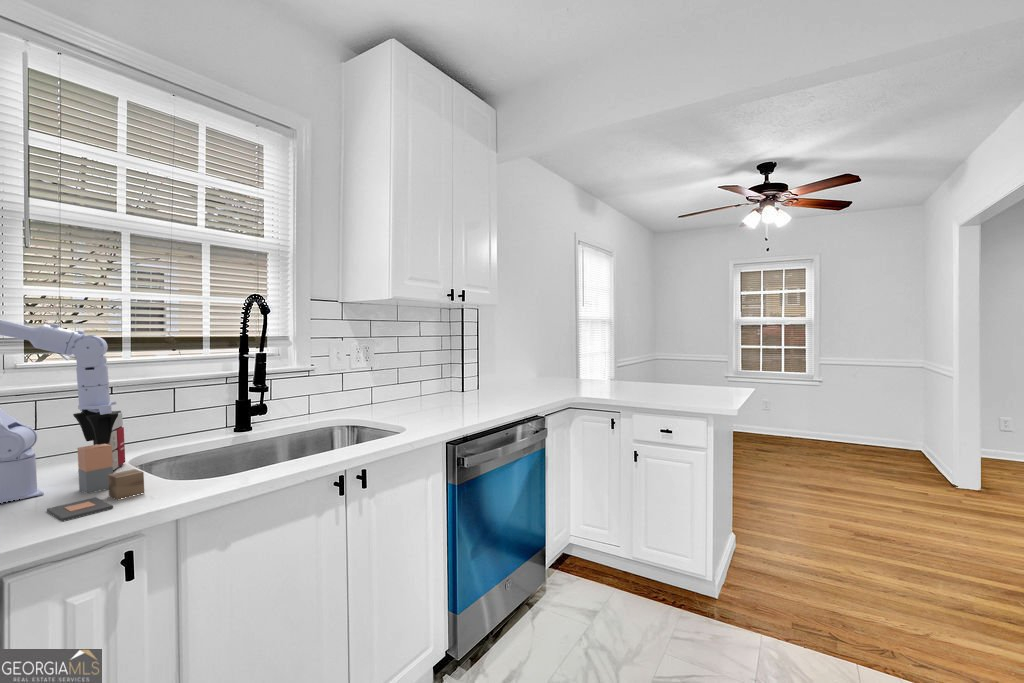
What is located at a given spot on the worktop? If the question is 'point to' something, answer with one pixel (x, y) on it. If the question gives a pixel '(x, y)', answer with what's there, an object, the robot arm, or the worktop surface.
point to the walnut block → (126, 483)
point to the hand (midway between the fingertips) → (97, 442)
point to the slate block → (94, 480)
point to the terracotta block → (95, 457)
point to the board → (79, 508)
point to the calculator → (117, 441)
